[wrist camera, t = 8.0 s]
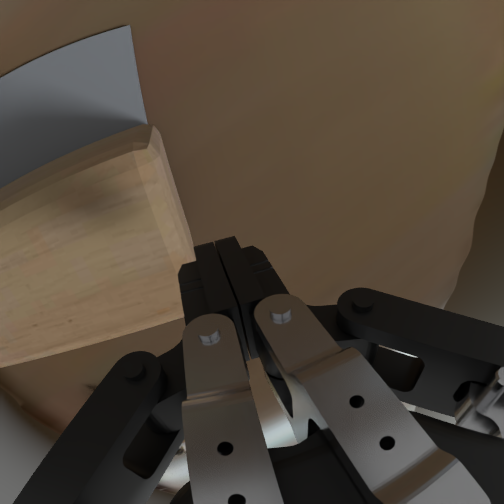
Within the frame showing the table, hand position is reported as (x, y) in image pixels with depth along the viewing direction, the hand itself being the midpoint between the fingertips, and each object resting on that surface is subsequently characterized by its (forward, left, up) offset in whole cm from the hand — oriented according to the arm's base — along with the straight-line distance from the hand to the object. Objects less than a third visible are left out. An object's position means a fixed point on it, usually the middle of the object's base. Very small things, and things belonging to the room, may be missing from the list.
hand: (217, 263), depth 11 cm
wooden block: (+1, -1, -9) cm, 9 cm away
